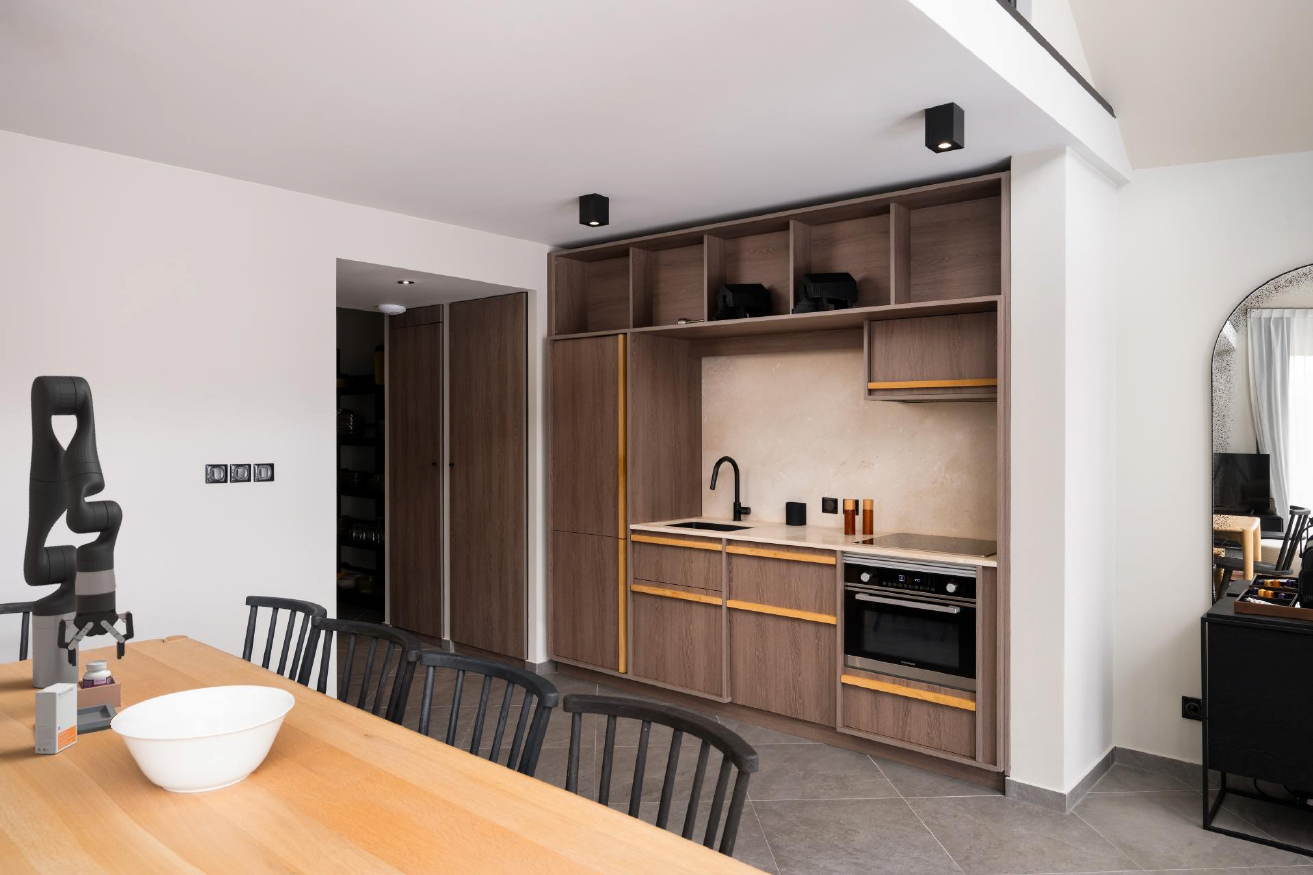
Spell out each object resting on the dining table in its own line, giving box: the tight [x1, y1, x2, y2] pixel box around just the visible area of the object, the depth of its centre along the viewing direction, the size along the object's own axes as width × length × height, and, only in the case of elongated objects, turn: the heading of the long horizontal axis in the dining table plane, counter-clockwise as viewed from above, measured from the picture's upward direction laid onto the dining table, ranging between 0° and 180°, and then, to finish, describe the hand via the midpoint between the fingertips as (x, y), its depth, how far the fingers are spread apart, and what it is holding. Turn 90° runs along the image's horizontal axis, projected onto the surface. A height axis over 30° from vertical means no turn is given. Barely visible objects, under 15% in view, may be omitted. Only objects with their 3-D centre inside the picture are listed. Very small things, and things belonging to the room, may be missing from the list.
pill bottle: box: [82, 659, 112, 689], centre depth 192 cm, size 5×5×10 cm
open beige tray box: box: [73, 674, 122, 708], centre depth 192 cm, size 8×8×5 cm
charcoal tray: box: [77, 702, 118, 736], centre depth 180 cm, size 12×12×2 cm
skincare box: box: [34, 683, 78, 755], centre depth 167 cm, size 6×4×12 cm
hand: (96, 662), depth 192 cm, fingers open, 8 cm apart
